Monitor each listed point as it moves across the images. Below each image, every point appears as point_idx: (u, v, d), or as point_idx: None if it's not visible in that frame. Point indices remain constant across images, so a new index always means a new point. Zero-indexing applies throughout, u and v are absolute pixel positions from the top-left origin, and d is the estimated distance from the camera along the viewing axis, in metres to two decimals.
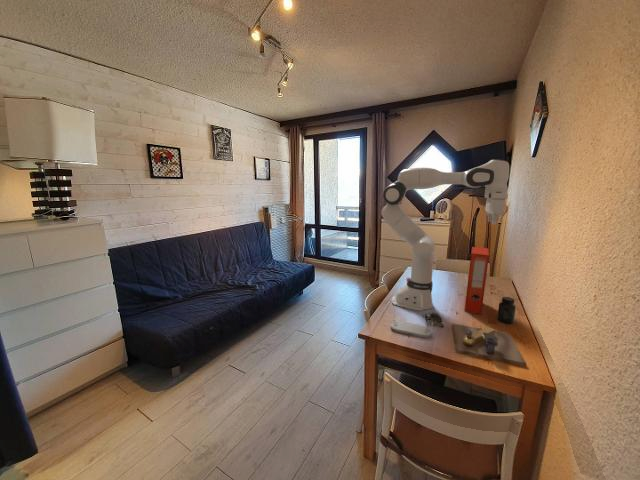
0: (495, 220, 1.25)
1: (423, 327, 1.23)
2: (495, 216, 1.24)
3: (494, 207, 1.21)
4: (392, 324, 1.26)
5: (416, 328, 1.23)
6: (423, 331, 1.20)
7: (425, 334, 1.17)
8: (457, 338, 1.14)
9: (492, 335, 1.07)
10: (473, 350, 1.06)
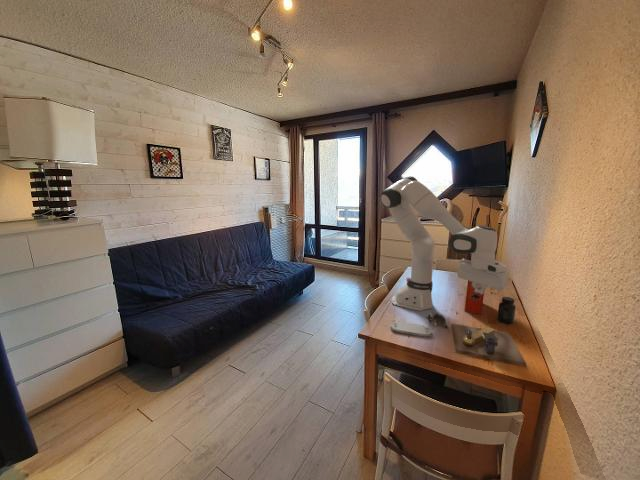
0: (483, 290, 1.17)
1: (422, 326, 1.24)
2: (485, 286, 1.15)
3: (502, 282, 1.07)
4: (392, 325, 1.25)
5: (416, 327, 1.23)
6: (423, 330, 1.20)
7: (426, 333, 1.18)
8: (457, 338, 1.14)
9: (492, 335, 1.07)
10: (473, 350, 1.06)
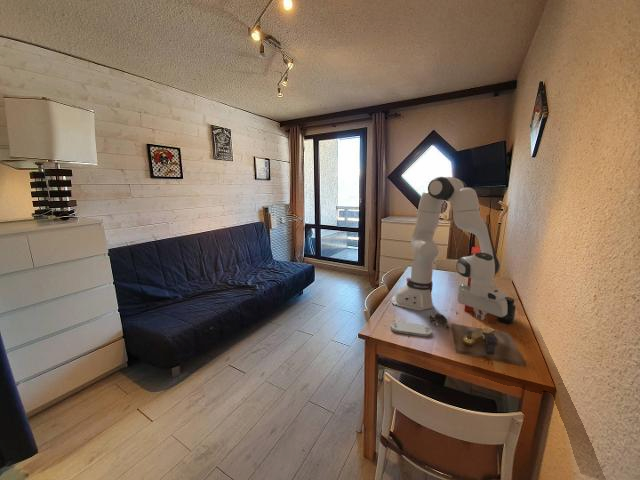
0: (484, 315, 1.19)
1: (422, 326, 1.24)
2: (486, 312, 1.17)
3: (502, 310, 1.10)
4: (392, 325, 1.25)
5: (416, 327, 1.23)
6: (423, 330, 1.21)
7: (426, 333, 1.18)
8: (457, 338, 1.14)
9: (492, 335, 1.07)
10: (473, 350, 1.06)
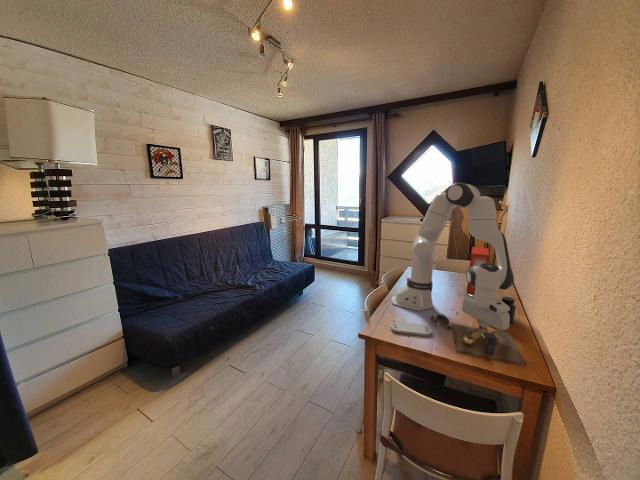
0: (486, 327, 1.17)
1: (422, 325, 1.25)
2: (487, 324, 1.16)
3: (503, 323, 1.08)
4: (392, 326, 1.25)
5: (416, 327, 1.23)
6: (424, 329, 1.21)
7: (427, 332, 1.19)
8: (457, 338, 1.14)
9: (492, 335, 1.07)
10: (473, 350, 1.06)
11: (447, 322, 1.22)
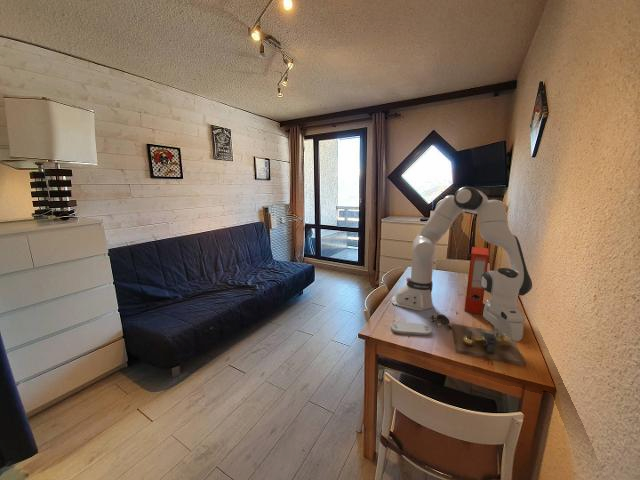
0: None
1: (421, 325, 1.25)
2: (502, 332, 1.09)
3: (512, 333, 1.01)
4: (392, 326, 1.24)
5: (416, 327, 1.24)
6: (424, 329, 1.22)
7: (427, 332, 1.19)
8: (457, 338, 1.14)
9: (492, 335, 1.07)
10: (473, 350, 1.06)
11: (447, 322, 1.22)
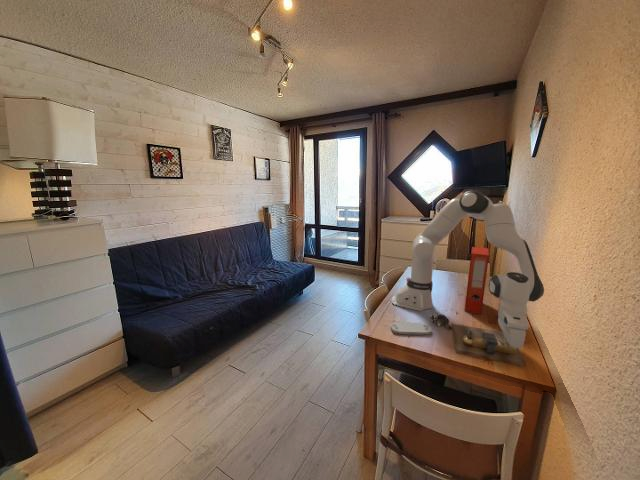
0: (509, 343, 1.05)
1: (420, 324, 1.26)
2: None
3: (511, 339, 0.97)
4: (393, 327, 1.23)
5: (415, 326, 1.24)
6: (423, 328, 1.22)
7: (427, 331, 1.20)
8: (457, 338, 1.14)
9: (492, 335, 1.07)
10: (473, 350, 1.06)
11: (447, 322, 1.22)
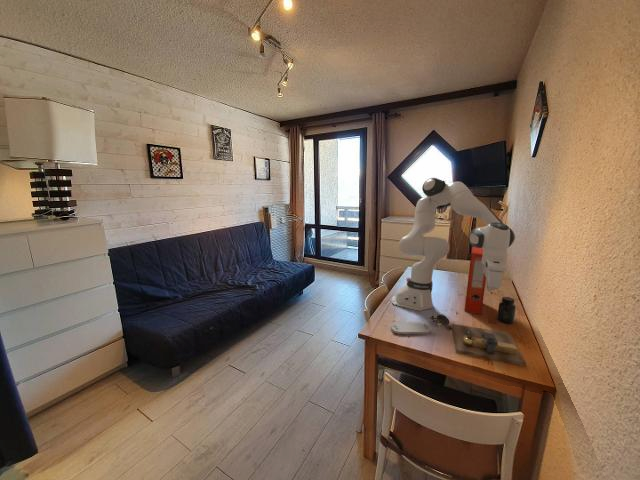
0: (490, 287, 1.16)
1: (419, 324, 1.26)
2: None
3: (490, 280, 1.08)
4: (393, 328, 1.23)
5: (415, 326, 1.24)
6: (423, 328, 1.23)
7: (427, 330, 1.20)
8: (457, 338, 1.14)
9: (492, 335, 1.07)
10: (473, 350, 1.06)
11: (447, 322, 1.22)
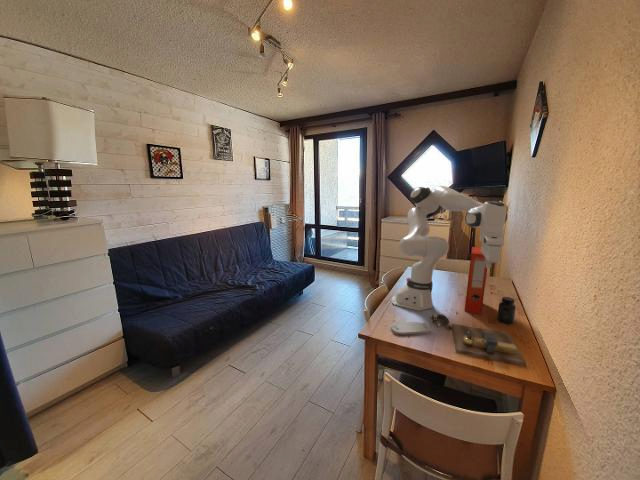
0: (489, 264, 1.20)
1: (419, 323, 1.27)
2: None
3: (489, 254, 1.12)
4: (394, 328, 1.22)
5: (415, 326, 1.24)
6: (423, 327, 1.23)
7: (427, 329, 1.21)
8: (457, 338, 1.14)
9: (492, 335, 1.07)
10: (473, 350, 1.06)
11: (447, 322, 1.22)
